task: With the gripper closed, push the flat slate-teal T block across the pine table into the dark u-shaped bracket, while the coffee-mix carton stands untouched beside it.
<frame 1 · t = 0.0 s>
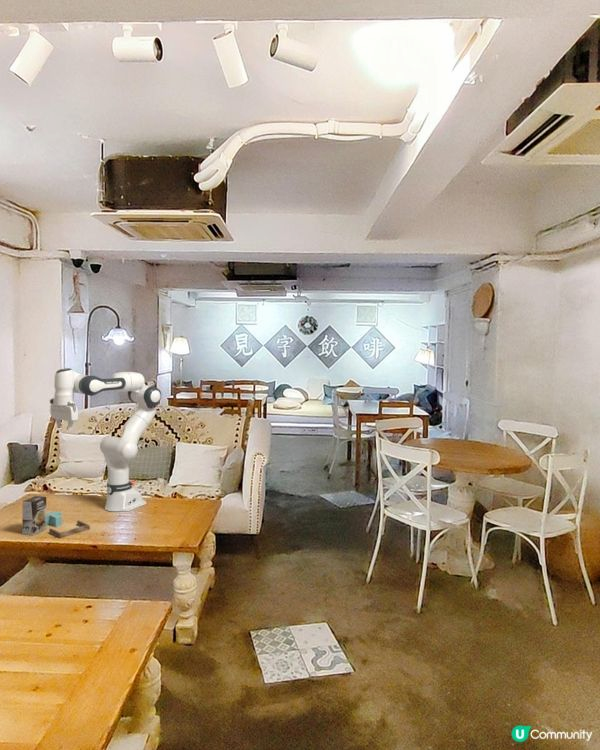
hand: (64, 428, 251), 48 cm above the table, fingers open, 8 cm apart
coffee box: (34, 532, 242), on the table
t block: (54, 523, 252), on the table
dark u-shaped bracket: (68, 530, 244), on the table
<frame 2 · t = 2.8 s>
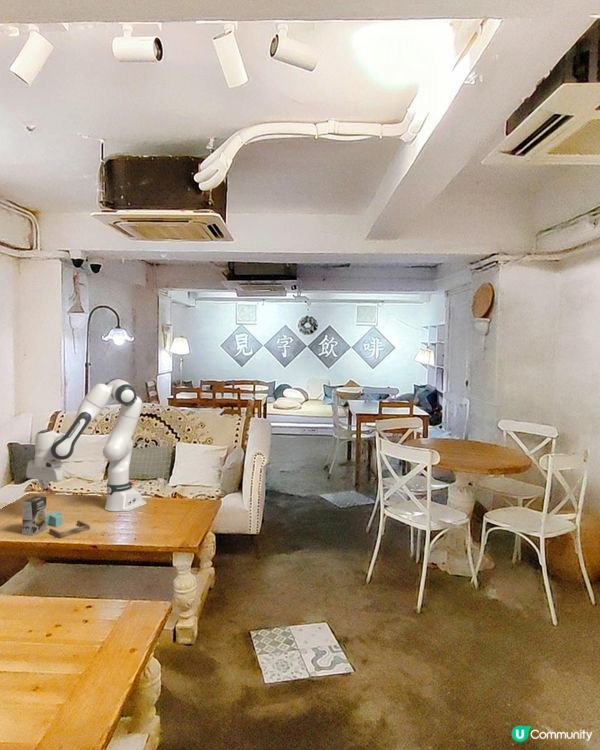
hand: (44, 488, 257), 16 cm above the table, fingers closed
nothing on the table moved.
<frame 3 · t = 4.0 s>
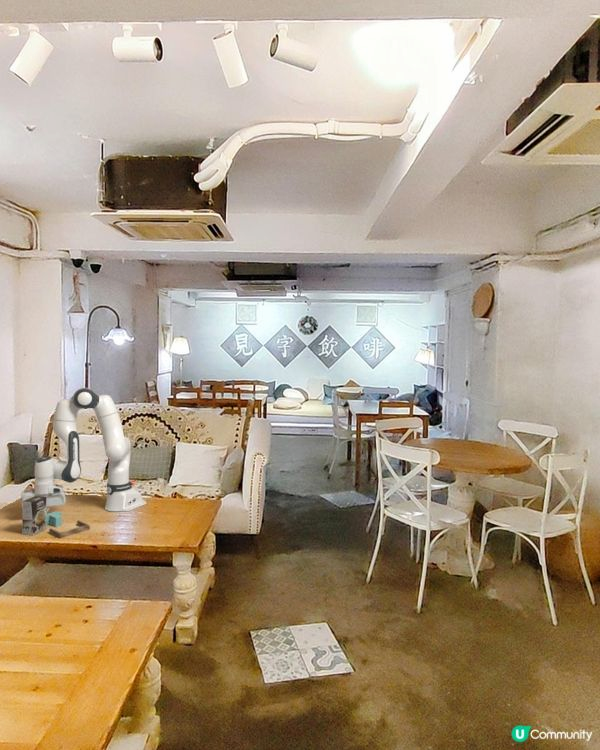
hand: (44, 515, 258), 2 cm above the table, fingers closed
nothing on the table moved.
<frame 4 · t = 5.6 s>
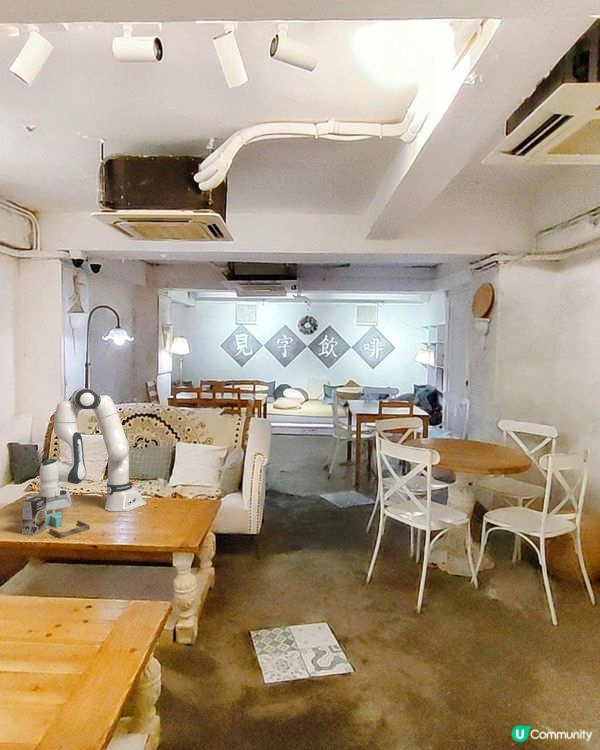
hand: (49, 518, 255), 2 cm above the table, fingers closed
t block: (54, 524, 252), on the table, touching gripper
everything else where it was.
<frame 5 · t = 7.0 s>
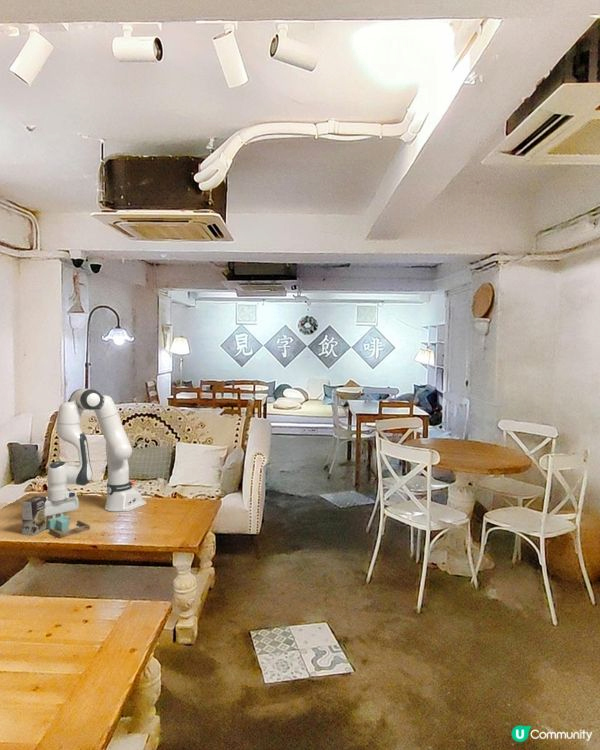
hand: (57, 522, 250), 2 cm above the table, fingers closed
t block: (61, 528, 247), on the table
everything else where it was.
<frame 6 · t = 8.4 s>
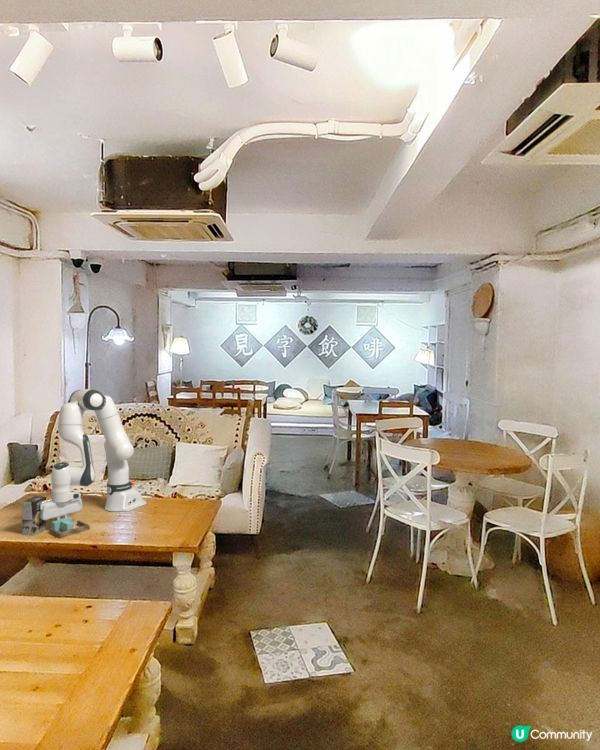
hand: (61, 524, 248), 2 cm above the table, fingers closed
t block: (65, 530, 244), on the table, touching gripper
everything else where it was.
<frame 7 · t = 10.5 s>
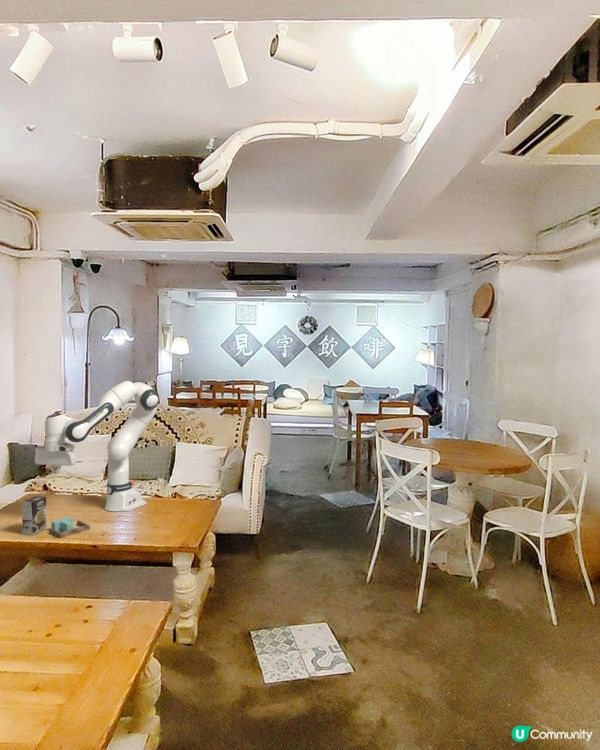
hand: (55, 473, 252), 25 cm above the table, fingers closed
t block: (65, 530, 244), on the table
everything else where it was.
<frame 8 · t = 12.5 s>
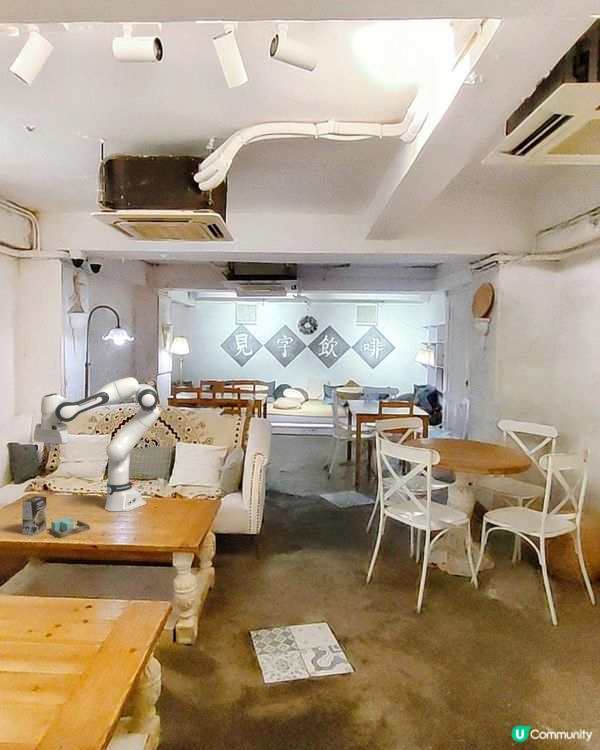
hand: (50, 451, 262), 34 cm above the table, fingers closed
nothing on the table moved.
at the end: t block inside the target area on the dark u-shaped bracket (1.1 cm from its centre), point 0.0 cm above the dark u-shaped bracket's base; t block tilted 0° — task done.
